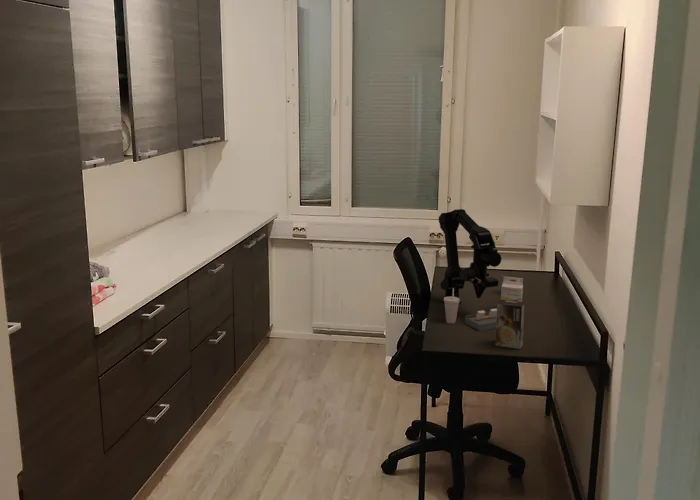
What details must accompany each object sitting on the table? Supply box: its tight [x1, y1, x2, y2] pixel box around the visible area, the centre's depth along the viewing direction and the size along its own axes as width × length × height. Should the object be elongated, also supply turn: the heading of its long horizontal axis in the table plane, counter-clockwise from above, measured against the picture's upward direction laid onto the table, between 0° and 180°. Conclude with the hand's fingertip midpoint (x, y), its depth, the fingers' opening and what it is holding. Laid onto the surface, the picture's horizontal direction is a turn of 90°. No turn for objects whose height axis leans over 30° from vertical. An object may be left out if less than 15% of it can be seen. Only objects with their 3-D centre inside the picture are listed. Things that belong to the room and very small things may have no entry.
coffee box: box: [495, 298, 526, 350], centre depth 244 cm, size 9×6×16 cm
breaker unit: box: [464, 311, 497, 332], centre depth 268 cm, size 10×19×3 cm, turn 114°
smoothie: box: [443, 288, 461, 324], centre depth 269 cm, size 6×6×14 cm
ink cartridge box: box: [500, 276, 524, 302], centre depth 280 cm, size 9×5×15 cm, turn 71°
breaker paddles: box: [475, 308, 497, 320], centre depth 267 cm, size 1×16×4 cm, turn 114°
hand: (478, 297), depth 275 cm, fingers closed
